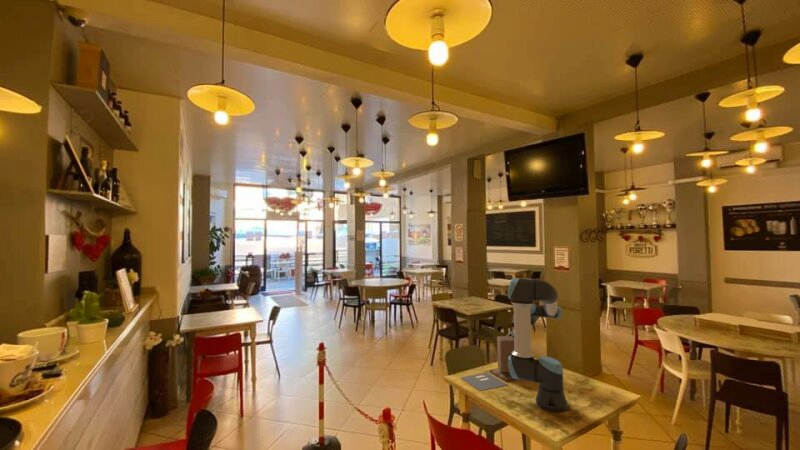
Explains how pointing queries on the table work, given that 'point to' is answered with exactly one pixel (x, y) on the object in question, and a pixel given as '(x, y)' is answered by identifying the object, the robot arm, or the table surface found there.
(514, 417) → the table surface
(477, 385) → the gray tile
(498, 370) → the walnut board
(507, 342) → the wooden block
